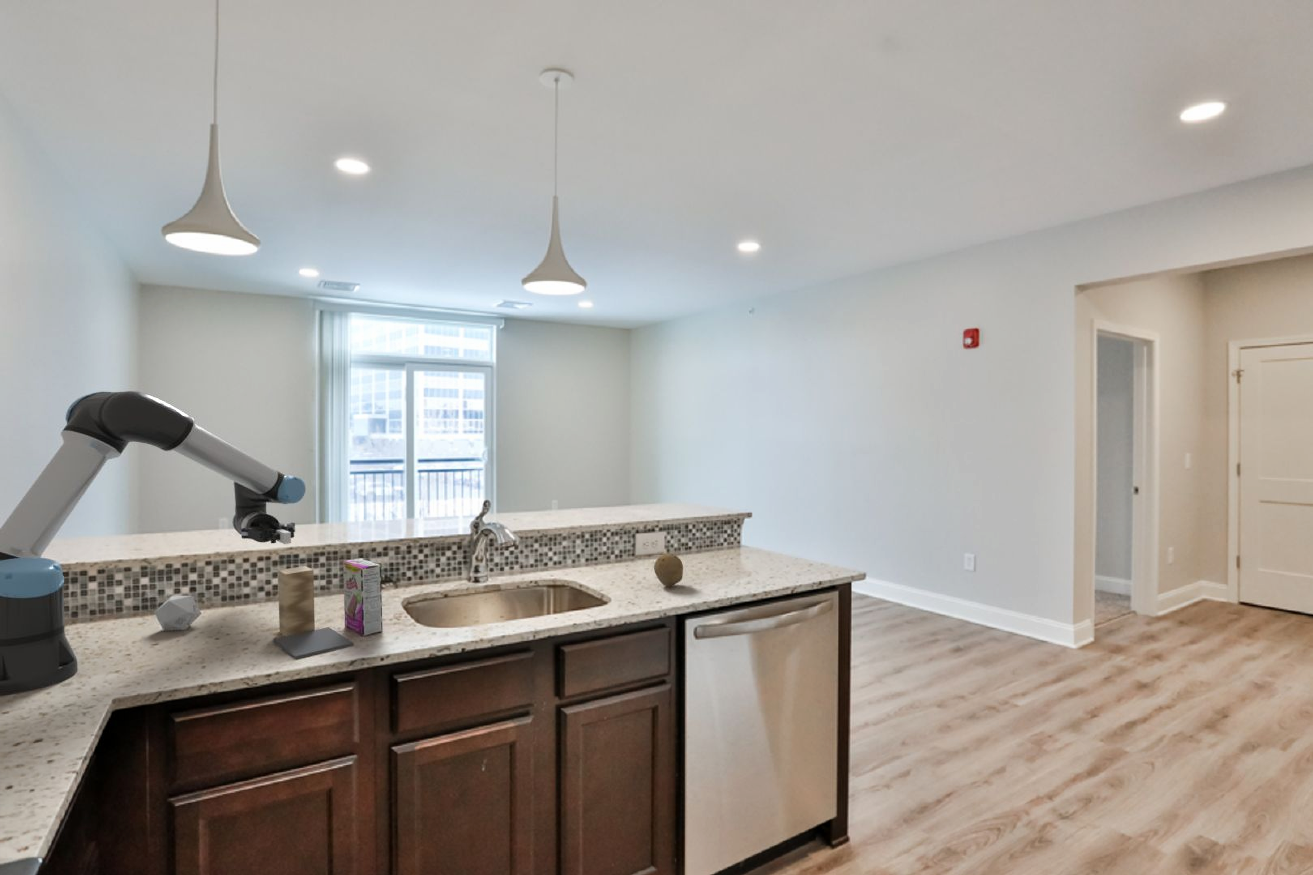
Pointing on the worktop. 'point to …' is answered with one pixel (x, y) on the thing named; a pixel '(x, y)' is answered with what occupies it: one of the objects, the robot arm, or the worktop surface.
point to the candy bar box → (362, 596)
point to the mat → (312, 642)
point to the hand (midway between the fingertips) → (287, 538)
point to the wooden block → (296, 600)
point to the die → (177, 613)
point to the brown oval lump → (668, 569)
